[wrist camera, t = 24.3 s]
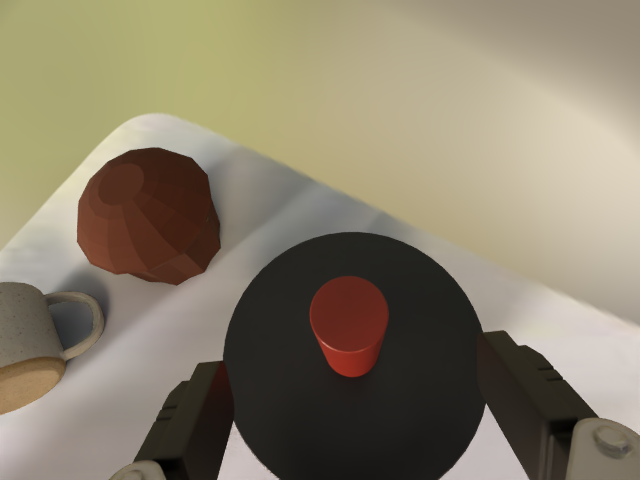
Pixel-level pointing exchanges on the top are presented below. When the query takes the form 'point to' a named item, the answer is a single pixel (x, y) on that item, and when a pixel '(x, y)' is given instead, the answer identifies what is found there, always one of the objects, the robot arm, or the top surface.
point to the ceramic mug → (35, 342)
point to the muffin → (149, 217)
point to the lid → (354, 362)
